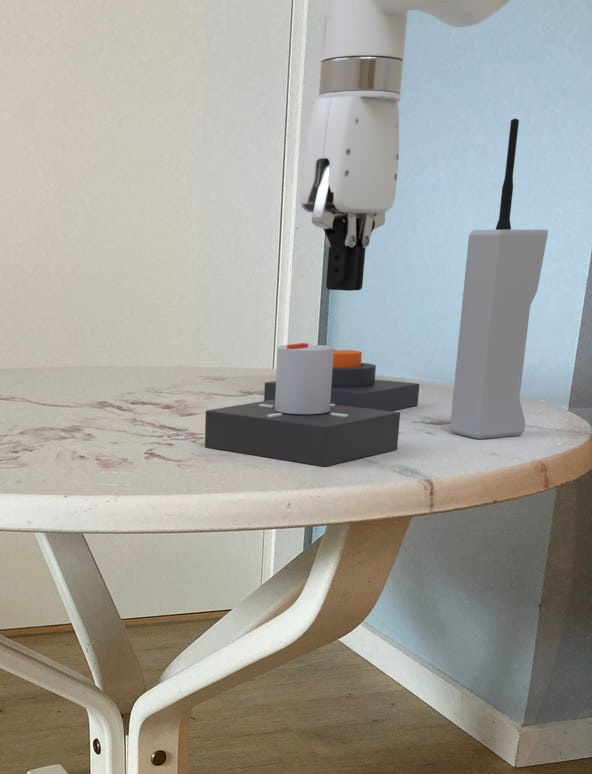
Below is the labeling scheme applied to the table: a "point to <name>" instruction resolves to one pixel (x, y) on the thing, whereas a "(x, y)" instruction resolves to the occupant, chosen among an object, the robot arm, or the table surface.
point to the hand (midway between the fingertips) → (343, 289)
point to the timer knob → (303, 379)
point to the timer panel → (302, 432)
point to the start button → (347, 358)
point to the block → (364, 390)
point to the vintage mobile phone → (496, 321)
